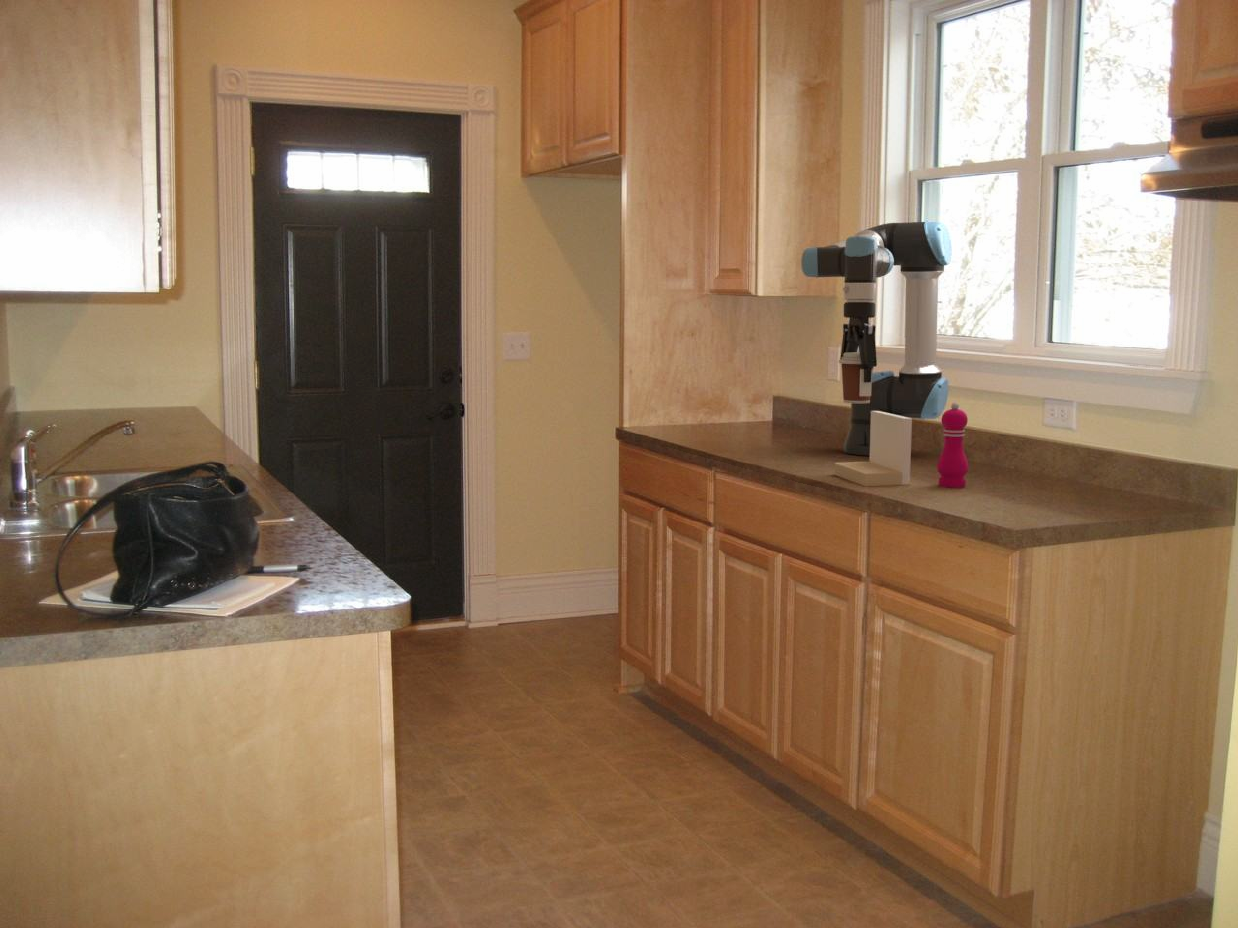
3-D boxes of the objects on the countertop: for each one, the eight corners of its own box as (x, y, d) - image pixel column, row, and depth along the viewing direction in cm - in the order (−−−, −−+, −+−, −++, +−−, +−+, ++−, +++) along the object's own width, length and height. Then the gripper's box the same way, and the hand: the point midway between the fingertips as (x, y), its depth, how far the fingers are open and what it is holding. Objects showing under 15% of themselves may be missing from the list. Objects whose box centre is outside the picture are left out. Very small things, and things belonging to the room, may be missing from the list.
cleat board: (876, 473, 315) (878, 410, 312) (909, 484, 296) (911, 418, 294) (834, 474, 312) (835, 411, 310) (865, 486, 294) (867, 419, 292)
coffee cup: (834, 403, 298) (835, 353, 296) (841, 400, 306) (843, 351, 305) (872, 404, 295) (873, 354, 293) (878, 401, 303) (880, 352, 301)
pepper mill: (951, 489, 290) (954, 404, 287) (930, 484, 296) (932, 401, 293) (974, 486, 293) (977, 403, 290) (953, 482, 299) (956, 400, 296)
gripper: (827, 301, 307) (825, 391, 310) (863, 301, 286) (860, 398, 289) (855, 301, 308) (853, 390, 311) (893, 301, 287) (890, 397, 291)
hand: (857, 394), depth 300 cm, fingers closed on coffee cup, 9 cm apart
